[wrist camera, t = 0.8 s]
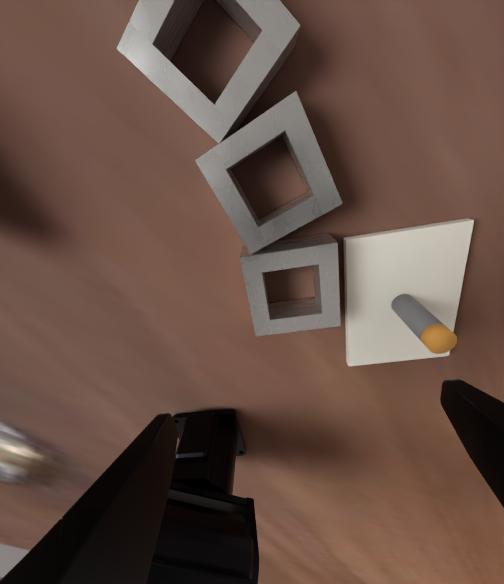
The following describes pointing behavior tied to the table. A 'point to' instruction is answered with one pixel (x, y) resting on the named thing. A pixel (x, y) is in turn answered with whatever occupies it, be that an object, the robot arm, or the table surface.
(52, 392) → the table surface
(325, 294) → the end link
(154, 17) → the grey square frame
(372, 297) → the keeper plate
